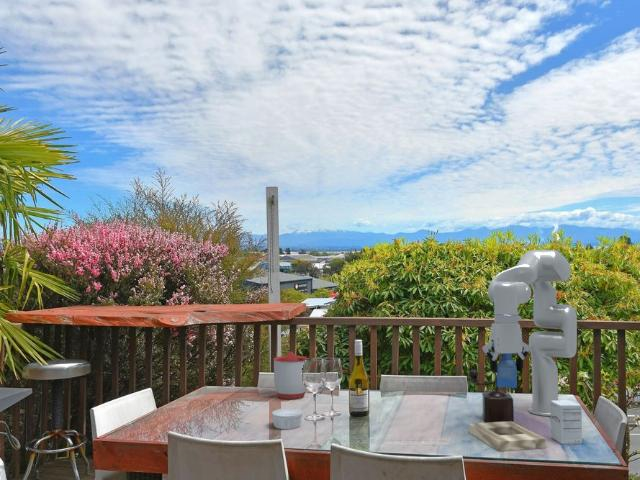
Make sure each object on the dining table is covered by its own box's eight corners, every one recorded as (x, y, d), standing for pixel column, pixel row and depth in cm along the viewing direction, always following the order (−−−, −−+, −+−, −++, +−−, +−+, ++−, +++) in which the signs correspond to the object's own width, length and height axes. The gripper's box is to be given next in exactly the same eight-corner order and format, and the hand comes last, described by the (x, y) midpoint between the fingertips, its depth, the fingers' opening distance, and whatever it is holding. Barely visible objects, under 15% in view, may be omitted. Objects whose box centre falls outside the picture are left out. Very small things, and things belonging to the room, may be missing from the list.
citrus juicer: (312, 400, 264) (311, 353, 264) (271, 400, 264) (271, 354, 265) (313, 393, 279) (312, 348, 280) (274, 393, 280) (274, 348, 280)
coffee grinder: (509, 417, 234) (509, 369, 235) (514, 424, 223) (513, 374, 224) (468, 415, 237) (467, 368, 237) (470, 423, 226) (470, 374, 226)
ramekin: (279, 432, 215) (279, 417, 215) (266, 424, 225) (266, 410, 225) (307, 428, 220) (307, 413, 221) (294, 421, 230) (294, 407, 231)
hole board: (511, 429, 216) (511, 421, 217) (545, 448, 195) (545, 438, 195) (469, 432, 213) (468, 423, 214) (498, 451, 192) (498, 441, 192)
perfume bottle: (516, 384, 207) (516, 348, 208) (516, 387, 202) (516, 351, 202) (497, 383, 209) (497, 347, 210) (497, 386, 203) (496, 350, 204)
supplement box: (550, 438, 206) (549, 400, 207) (571, 437, 207) (571, 399, 207) (561, 444, 199) (560, 405, 199) (582, 443, 200) (582, 404, 200)
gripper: (524, 318, 212) (524, 368, 211) (477, 319, 208) (477, 370, 208) (535, 320, 204) (536, 372, 204) (487, 321, 201) (487, 374, 200)
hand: (506, 371), depth 206 cm, fingers closed on perfume bottle, 8 cm apart
